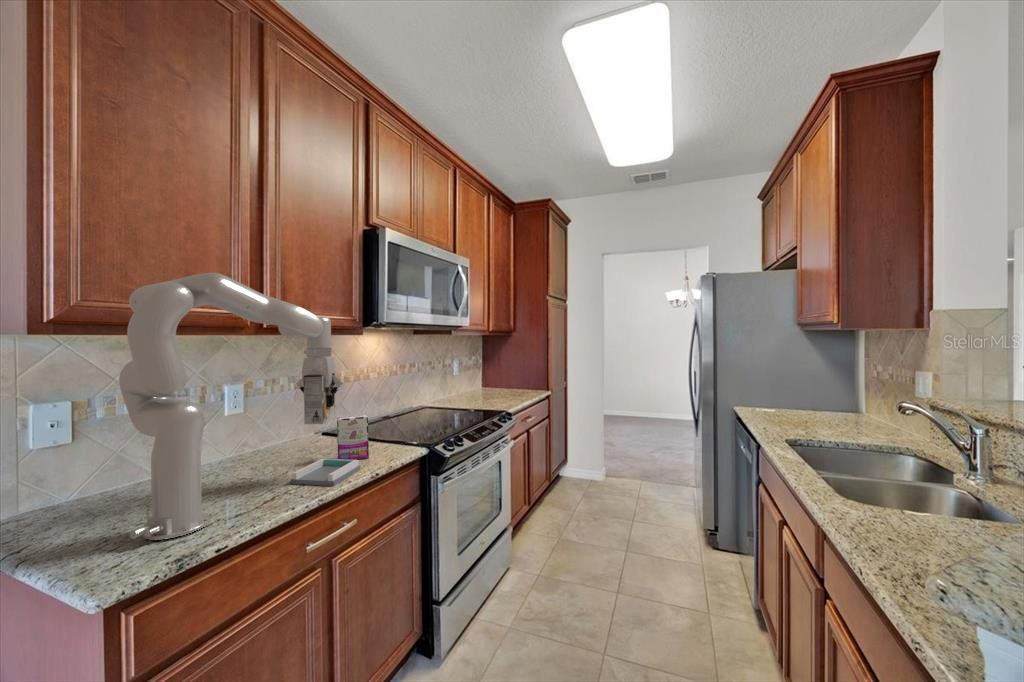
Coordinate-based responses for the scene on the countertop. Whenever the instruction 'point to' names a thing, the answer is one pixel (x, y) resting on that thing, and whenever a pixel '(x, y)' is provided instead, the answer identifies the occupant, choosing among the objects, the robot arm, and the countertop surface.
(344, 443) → the candy bar box
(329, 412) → the coffee box
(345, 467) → the tray
